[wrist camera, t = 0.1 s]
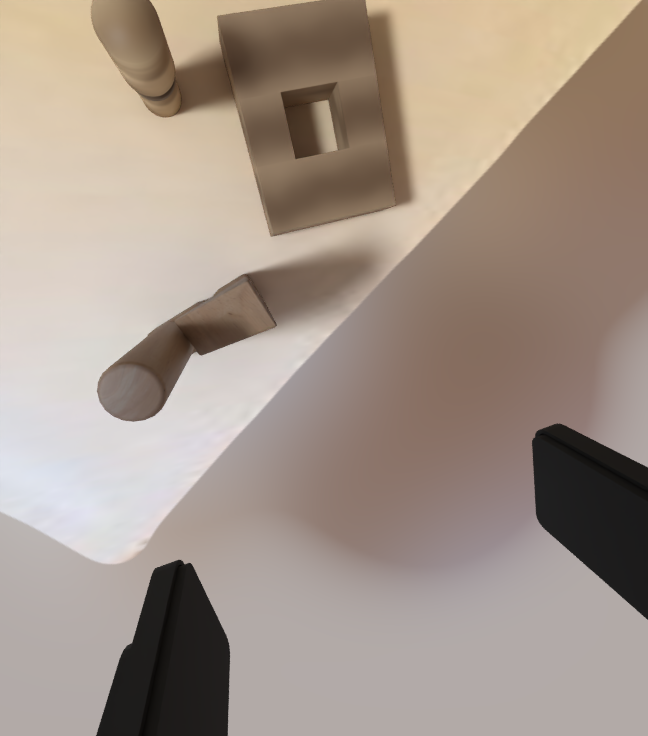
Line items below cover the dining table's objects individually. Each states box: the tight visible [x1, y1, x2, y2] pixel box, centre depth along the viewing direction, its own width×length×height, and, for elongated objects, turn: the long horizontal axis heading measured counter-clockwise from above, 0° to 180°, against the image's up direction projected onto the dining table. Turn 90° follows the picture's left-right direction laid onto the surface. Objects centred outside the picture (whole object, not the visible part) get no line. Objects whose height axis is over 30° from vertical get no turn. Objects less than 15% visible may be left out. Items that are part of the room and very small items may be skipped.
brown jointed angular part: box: [97, 274, 277, 421], centre depth 28 cm, size 4×11×18 cm, turn 120°
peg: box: [91, 0, 181, 117], centre depth 26 cm, size 4×4×10 cm
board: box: [217, 0, 396, 237], centre depth 32 cm, size 16×12×4 cm
